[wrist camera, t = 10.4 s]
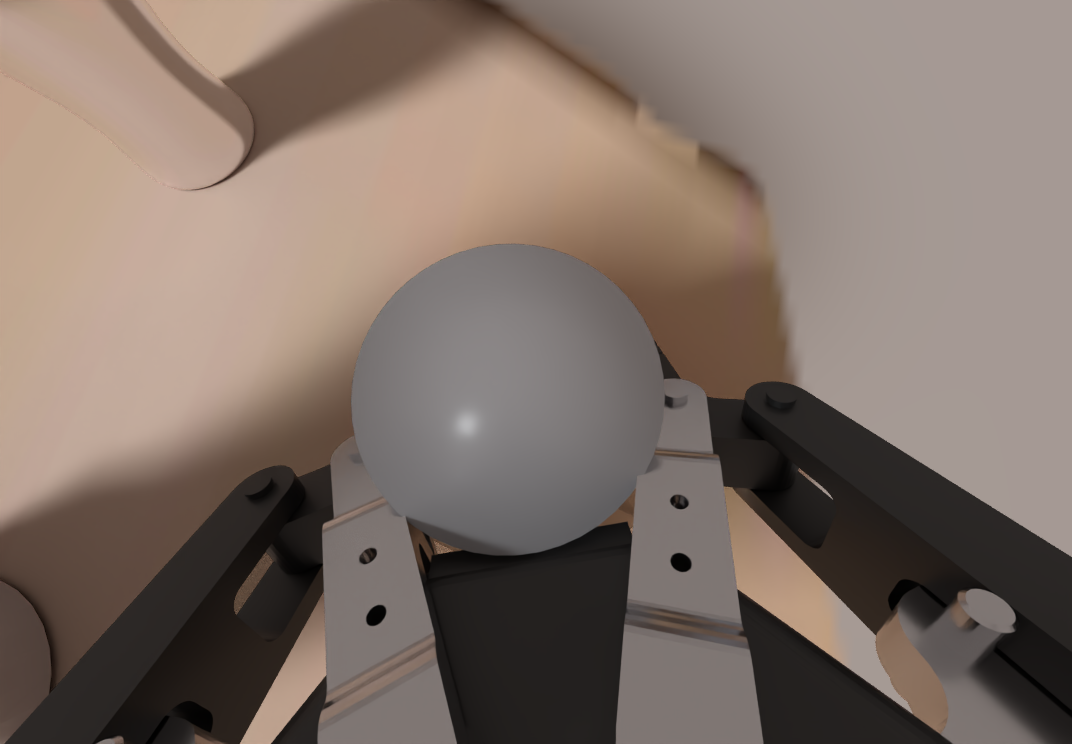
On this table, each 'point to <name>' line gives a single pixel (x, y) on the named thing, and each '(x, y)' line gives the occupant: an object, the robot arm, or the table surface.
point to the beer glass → (129, 85)
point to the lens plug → (507, 399)
